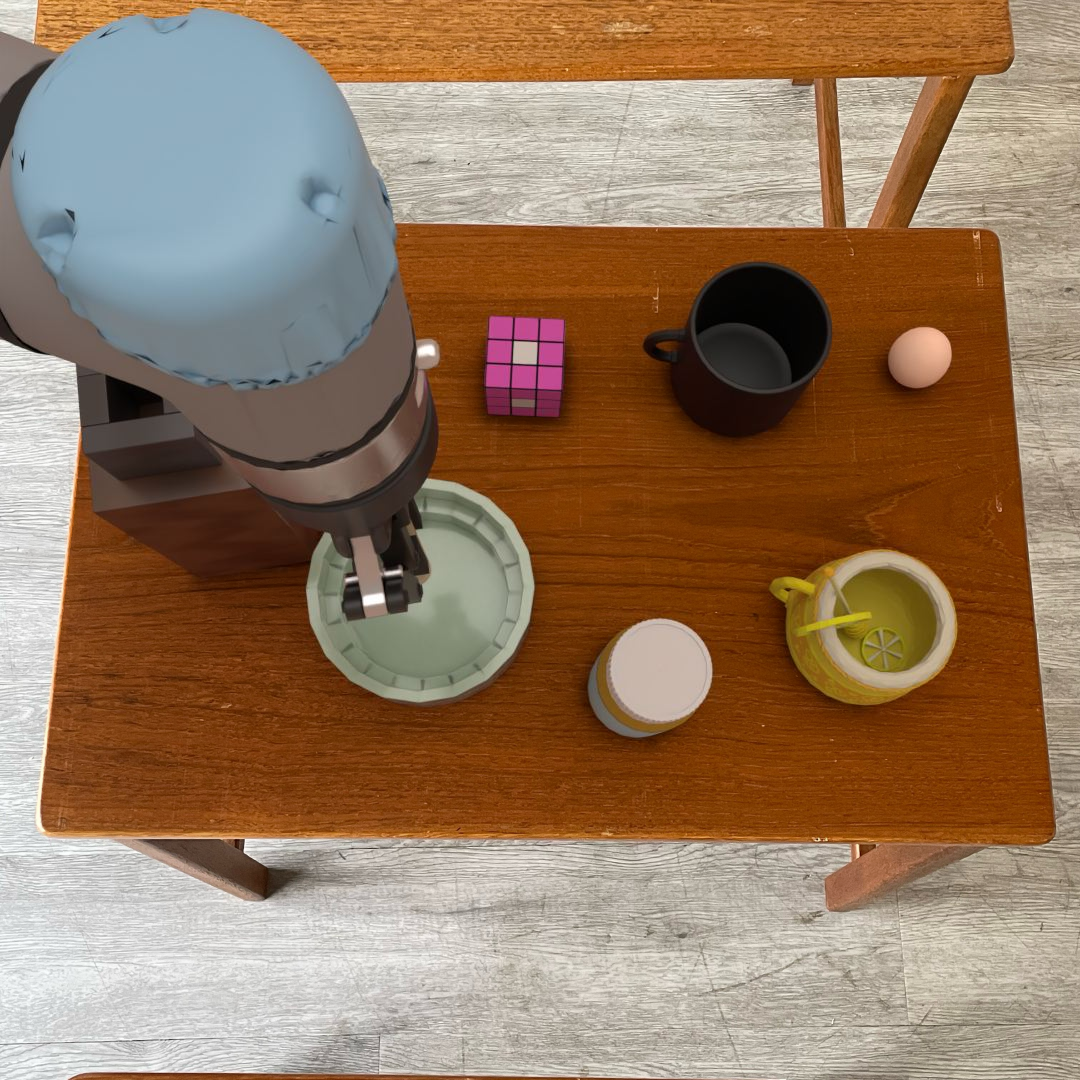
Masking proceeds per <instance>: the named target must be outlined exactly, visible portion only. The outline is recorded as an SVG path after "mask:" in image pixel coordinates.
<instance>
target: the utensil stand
mask: <svg viewBox="0 0 1080 1080" xmlns="http://www.w3.org/2000/svg"><path fill="white" fill-rule="evenodd" d="M75 372H76V387H77V398H78V399H77V400H78V411H79V412H78V413H79V424H80V425H79V426H80V434H81V435H80V436H81V448H82V449H81V450H82V455H84V456H85V457H86V458H87V460H88V471H89V481H90V482H89V483H90V484H89V485H90V496H91V497H90V498H91V507H92V508H91V509H92V513H93V514H94V515H95V516H98V517H99V518H101V519H102V520H104V521H106V522H108V523H109V524H111V525H112V526H114V527H116V528H117V529H119V530H120V531H122V532H123V533H126V534H127V535H129V536H130V537H131V538H133V539H135V540H137V541H138V542H140V543H142V544H144V545H145V546H147V547H148V548H150V549H152V550H153V551H155V552H157V554H160V555H161V556H163V557H165V558H166V559H168V560H170V562H172V563H174V564H176V565H178V566H179V567H181V568H182V569H184V570H186V571H188V572H189V573H191V574H192V575H194V576H196V577H198V578H199V579H204V578H205V579H206V578H213V577H218V576H225V575H231V574H236V573H242V572H248V571H249V572H250V571H256V570H260V569H261V570H262V569H268V568H274V567H281V566H287V565H292V564H299V563H304V562H311V559H312V555H313V552H314V550H315V548H316V547H317V545H318V543H319V539H318V530H316V529H312V528H309V527H306V526H303V525H301V524H298V523H296V522H294V521H292V520H290V519H288V518H286V517H284V516H283V515H281V514H280V513H278V512H277V511H275V510H274V509H273V508H272V507H271V506H269V505H268V504H267V503H266V502H265V501H264V500H263V499H262V498H261V496H260V495H259V494H258V493H257V492H256V491H255V490H254V489H253V488H252V487H251V486H250V485H249V484H248V483H247V482H246V481H245V479H243V478H242V477H240V476H239V475H237V474H236V473H235V471H234V470H233V469H232V468H231V467H230V466H229V465H228V463H227V462H226V461H225V460H224V459H223V458H222V457H221V455H220V454H219V453H218V452H217V451H216V450H215V449H214V447H213V446H212V445H211V444H210V443H209V442H208V441H207V439H206V438H205V437H204V436H203V435H202V434H201V433H200V432H199V430H198V429H197V428H196V427H195V426H194V425H193V423H192V422H191V421H190V420H189V419H188V418H187V417H186V416H185V415H183V414H182V413H181V412H180V411H179V410H178V409H177V408H176V407H175V406H174V405H173V404H172V403H171V402H170V401H168V400H167V399H165V398H163V397H161V396H160V395H158V394H156V393H153V392H151V391H149V390H147V389H144V388H142V387H139V386H137V385H134V384H131V383H128V382H126V381H123V380H120V379H117V378H114V377H111V376H109V375H106V374H103V373H100V372H97V371H94V370H92V369H89V368H86V367H83V366H80V365H78V364H75Z"/></svg>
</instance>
